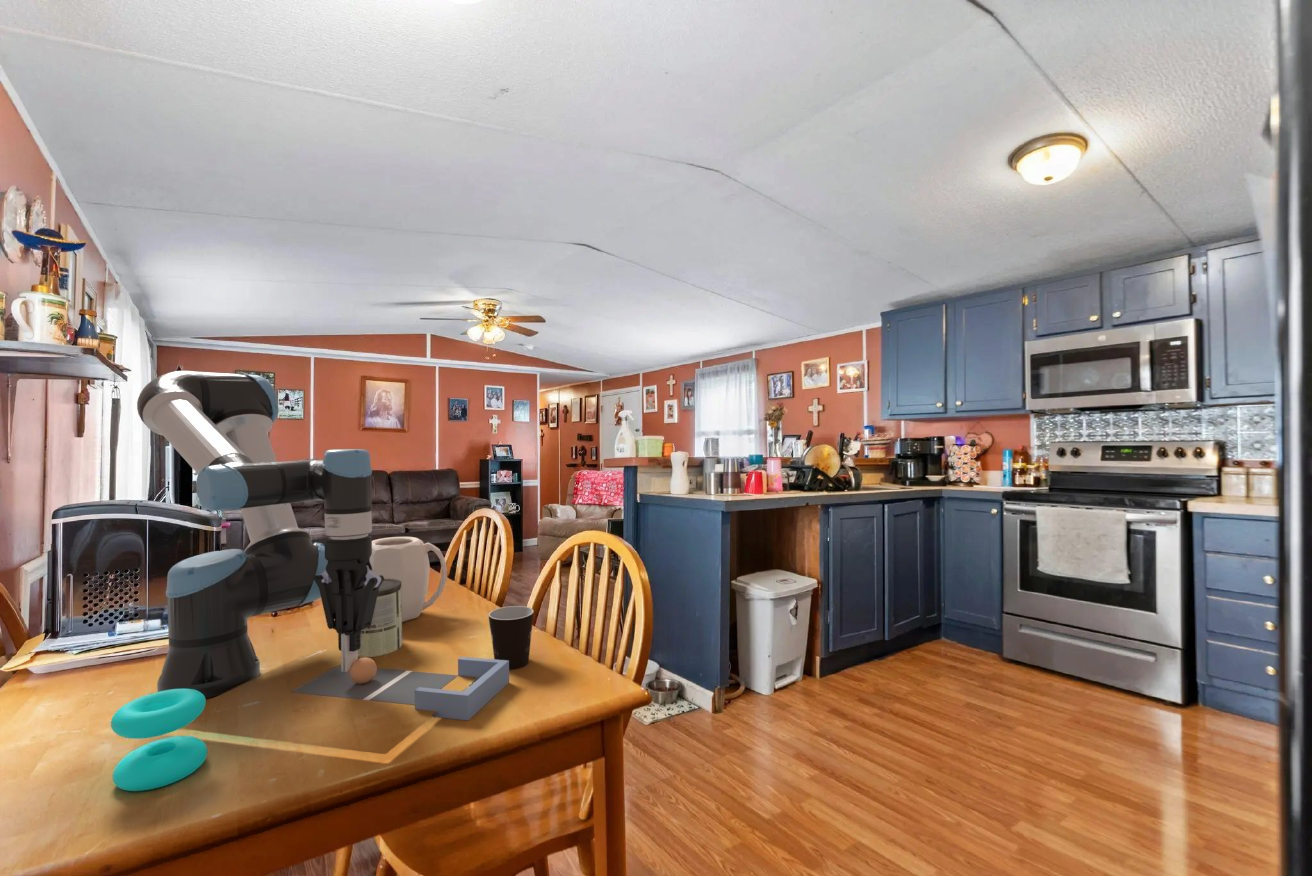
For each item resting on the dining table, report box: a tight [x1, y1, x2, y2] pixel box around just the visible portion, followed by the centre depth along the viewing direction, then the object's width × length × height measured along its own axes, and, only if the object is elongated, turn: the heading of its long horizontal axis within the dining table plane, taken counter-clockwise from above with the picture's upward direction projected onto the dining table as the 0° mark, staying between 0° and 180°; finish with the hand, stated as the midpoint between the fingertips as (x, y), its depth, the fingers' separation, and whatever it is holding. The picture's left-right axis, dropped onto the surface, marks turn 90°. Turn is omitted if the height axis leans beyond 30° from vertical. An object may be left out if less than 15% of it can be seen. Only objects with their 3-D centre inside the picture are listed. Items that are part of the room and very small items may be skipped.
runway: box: [290, 664, 459, 706], centre depth 109 cm, size 25×12×1 cm, turn 77°
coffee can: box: [358, 579, 403, 658], centre depth 126 cm, size 10×10×14 cm
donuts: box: [110, 689, 208, 792], centre depth 83 cm, size 10×10×10 cm
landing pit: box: [414, 656, 510, 721], centre depth 105 cm, size 10×14×4 cm, turn 167°
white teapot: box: [370, 536, 448, 623], centre depth 148 cm, size 16×27×19 cm, turn 101°
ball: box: [350, 657, 378, 684], centre depth 110 cm, size 4×4×4 cm
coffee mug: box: [487, 605, 535, 671], centre depth 122 cm, size 12×9×10 cm
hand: (350, 668), depth 109 cm, fingers closed
